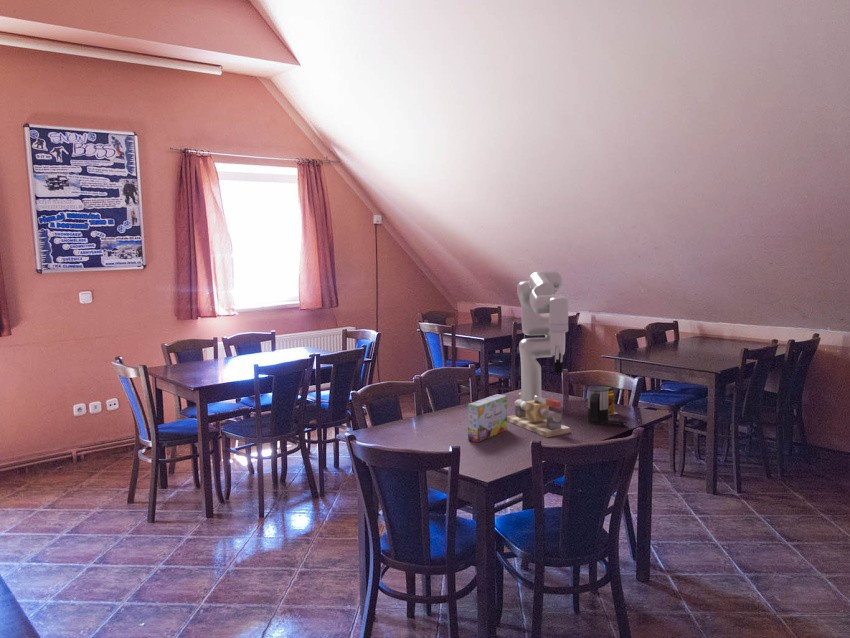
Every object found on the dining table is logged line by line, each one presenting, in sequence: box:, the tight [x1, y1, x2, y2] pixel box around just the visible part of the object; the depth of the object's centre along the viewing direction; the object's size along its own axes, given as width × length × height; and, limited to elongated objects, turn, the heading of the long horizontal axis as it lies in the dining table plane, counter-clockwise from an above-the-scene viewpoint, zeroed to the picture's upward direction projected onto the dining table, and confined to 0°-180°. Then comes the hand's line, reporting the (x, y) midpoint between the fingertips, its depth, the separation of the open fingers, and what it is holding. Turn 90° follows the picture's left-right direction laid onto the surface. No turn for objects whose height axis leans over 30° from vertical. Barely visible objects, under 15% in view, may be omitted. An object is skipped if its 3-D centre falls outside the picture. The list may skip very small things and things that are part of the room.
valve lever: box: [534, 395, 562, 410], centre depth 264 cm, size 14×3×3 cm, turn 31°
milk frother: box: [586, 385, 627, 426], centre depth 271 cm, size 14×16×15 cm
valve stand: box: [507, 398, 571, 438], centre depth 270 cm, size 28×12×10 cm, turn 27°
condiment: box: [602, 385, 619, 416], centre depth 288 cm, size 7×8×12 cm
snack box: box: [467, 393, 508, 443], centre depth 260 cm, size 21×6×15 cm, turn 140°
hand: (558, 371), depth 261 cm, fingers closed
